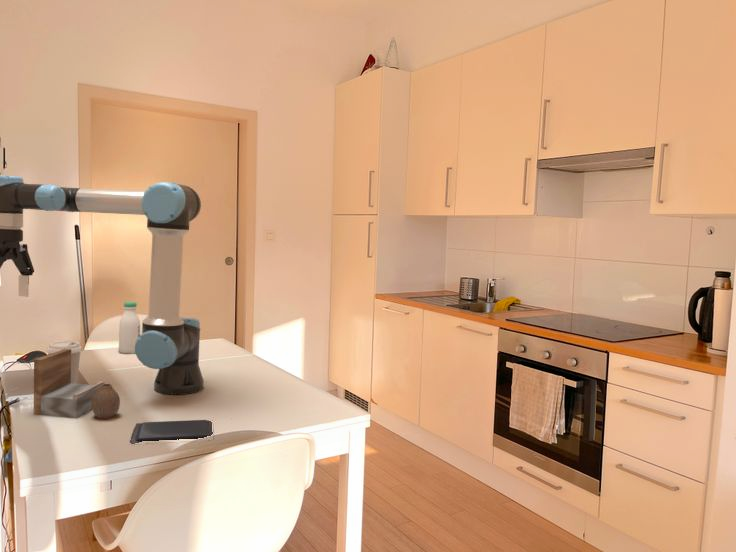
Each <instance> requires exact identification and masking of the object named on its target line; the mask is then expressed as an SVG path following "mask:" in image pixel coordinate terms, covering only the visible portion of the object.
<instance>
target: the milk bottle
mask: <svg viewBox="0 0 736 552" xmlns="http://www.w3.org/2000/svg"><path fill="white" fill-rule="evenodd" d="M137 306H138V304H137V302H134V301H127V302H124V303H123V308H124V311H123V313H122V316H121V318H120V320H119V327H118V352H119V353H120V354H136V353H135V343H136V341H137V339H138V337H139V336H140V335H141V322H140V321H141V320H140V318H139V316H138V314H137Z"/></svg>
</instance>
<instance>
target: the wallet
mask: <svg viewBox="0 0 736 552" xmlns="http://www.w3.org/2000/svg"><path fill="white" fill-rule="evenodd" d="M213 432H214V431H213ZM213 432H212V422H211V421H209V419H208V420H207V419H191V420H190V419H189V420H187V419H186V420H168V421H167V420H166V421H144V422H140V423H136V424H135V426H134V428H133V430H132V433H131V436H130V439H131V440H130V439H129V442H130V443H131V444H135V443H139V442H142V441H159V440H177V439H178V440H179V439H198V438H204V437H207V436H211V435H212V434H213Z"/></svg>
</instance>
